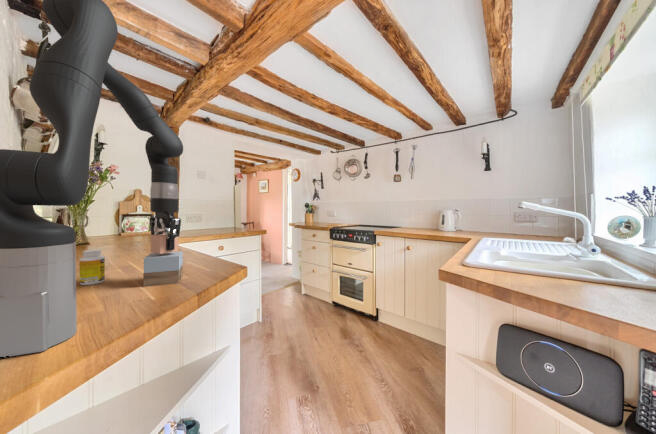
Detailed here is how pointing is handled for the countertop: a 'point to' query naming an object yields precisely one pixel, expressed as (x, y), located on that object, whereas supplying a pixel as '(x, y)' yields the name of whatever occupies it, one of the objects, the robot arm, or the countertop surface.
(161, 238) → the terracotta cube
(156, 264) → the upper block
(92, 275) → the supplement bottle
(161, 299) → the countertop surface
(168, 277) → the lower block
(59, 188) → the robot arm
